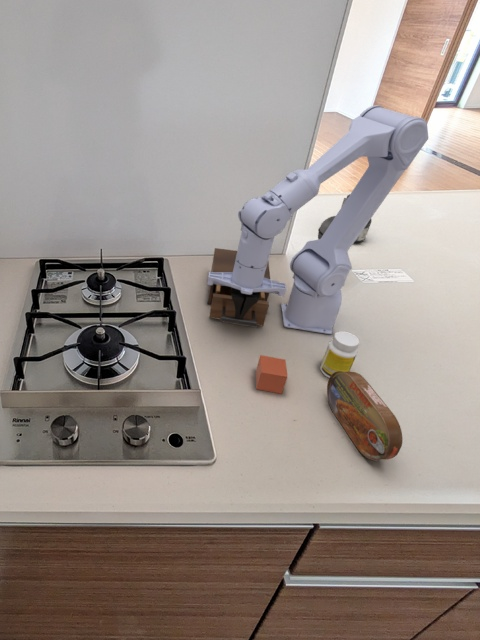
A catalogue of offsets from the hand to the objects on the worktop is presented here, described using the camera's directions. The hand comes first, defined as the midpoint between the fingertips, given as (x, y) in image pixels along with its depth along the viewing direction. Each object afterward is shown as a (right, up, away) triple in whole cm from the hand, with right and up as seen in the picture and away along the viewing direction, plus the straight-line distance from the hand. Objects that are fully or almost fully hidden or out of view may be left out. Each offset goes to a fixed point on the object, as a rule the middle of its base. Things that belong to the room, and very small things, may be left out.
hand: (237, 317), depth 89 cm
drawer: (+2, +1, +7) cm, 8 cm away
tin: (+13, -17, -18) cm, 28 cm away
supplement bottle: (+16, -10, -7) cm, 20 cm away
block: (+3, -11, -9) cm, 15 cm away
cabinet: (+4, +5, +15) cm, 16 cm away
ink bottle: (+44, +19, +37) cm, 60 cm away
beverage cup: (+28, +9, +21) cm, 36 cm away
